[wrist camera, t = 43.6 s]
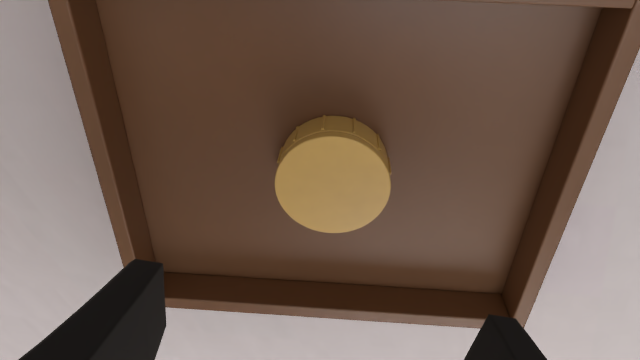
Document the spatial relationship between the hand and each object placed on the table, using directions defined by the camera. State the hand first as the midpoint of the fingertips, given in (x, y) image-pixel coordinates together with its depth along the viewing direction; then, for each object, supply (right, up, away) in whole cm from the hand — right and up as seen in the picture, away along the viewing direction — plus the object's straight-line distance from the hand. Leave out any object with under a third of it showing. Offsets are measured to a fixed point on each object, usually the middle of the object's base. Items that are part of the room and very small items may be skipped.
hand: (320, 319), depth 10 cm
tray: (+1, +4, +7) cm, 8 cm away
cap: (0, +3, +5) cm, 6 cm away
